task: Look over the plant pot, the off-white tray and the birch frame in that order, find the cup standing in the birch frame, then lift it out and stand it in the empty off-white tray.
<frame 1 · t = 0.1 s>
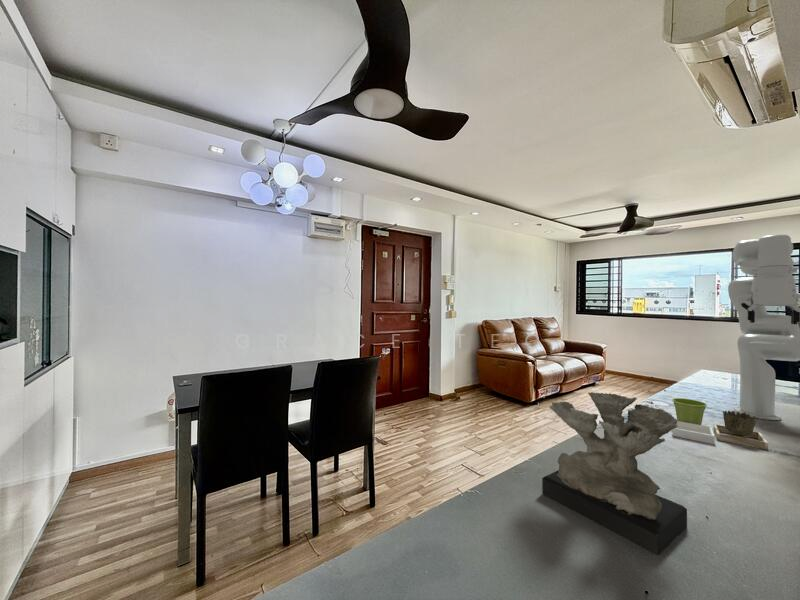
hand: (772, 323, 114), 37 cm above the table, tool pointing down, fingers open, 9 cm apart
plant pot: (688, 427, 118), on the table
cup: (738, 439, 108), resting in birch frame
coral: (608, 501, 72), on the table
birch frame: (738, 439, 108), on the table
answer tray: (692, 435, 110), on the table
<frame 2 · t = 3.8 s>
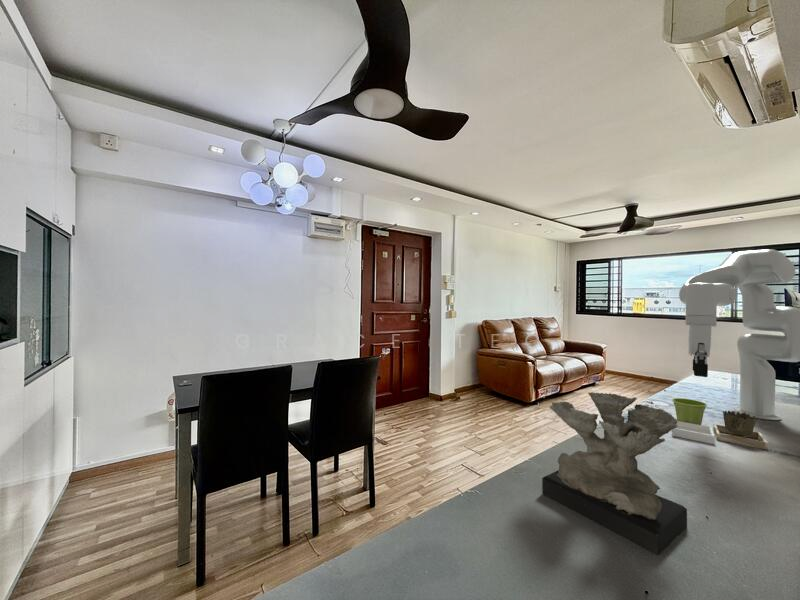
hand: (699, 373, 110), 20 cm above the table, tool pointing down, fingers open, 9 cm apart
nothing on the table moved.
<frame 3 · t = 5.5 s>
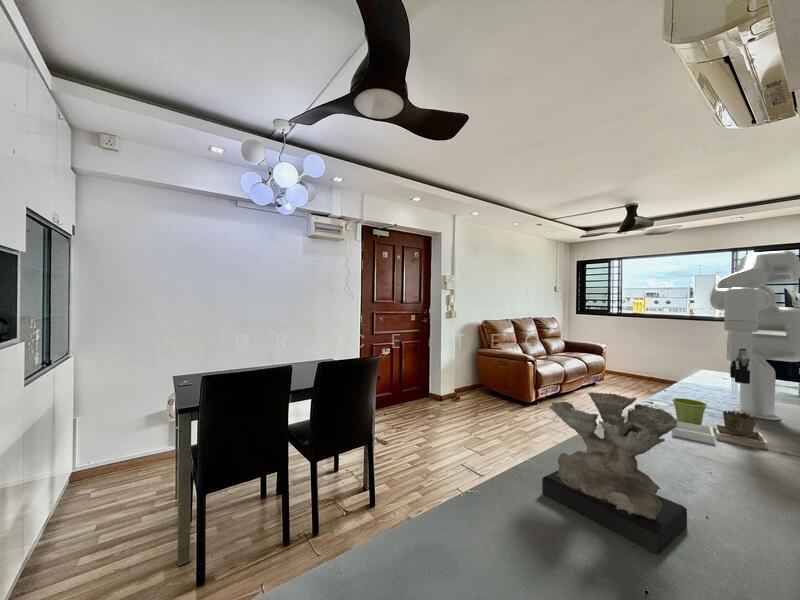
hand: (739, 380, 108), 19 cm above the table, tool pointing down, fingers open, 9 cm apart
nothing on the table moved.
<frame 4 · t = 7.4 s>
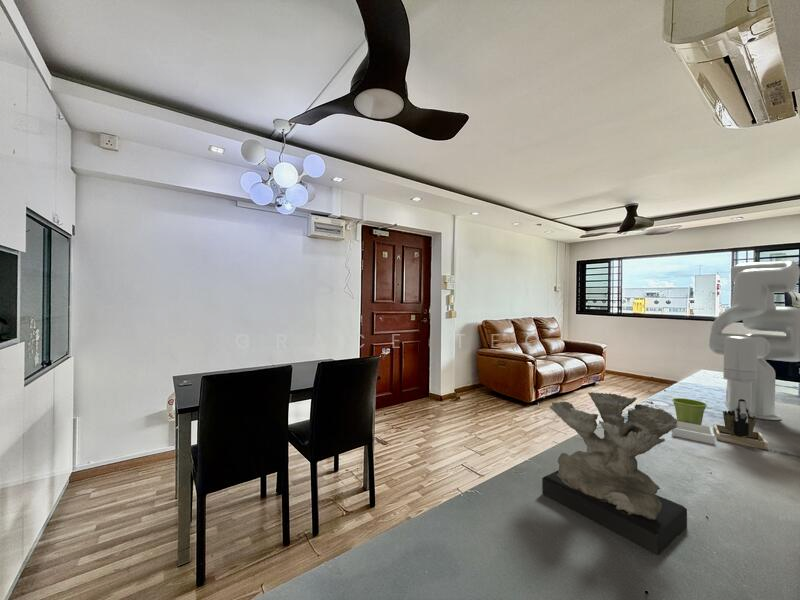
hand: (738, 430, 108), 3 cm above the table, tool pointing down, fingers closed on cup, 7 cm apart
cup: (738, 439, 108), resting in birch frame, touching gripper
everything else where it was.
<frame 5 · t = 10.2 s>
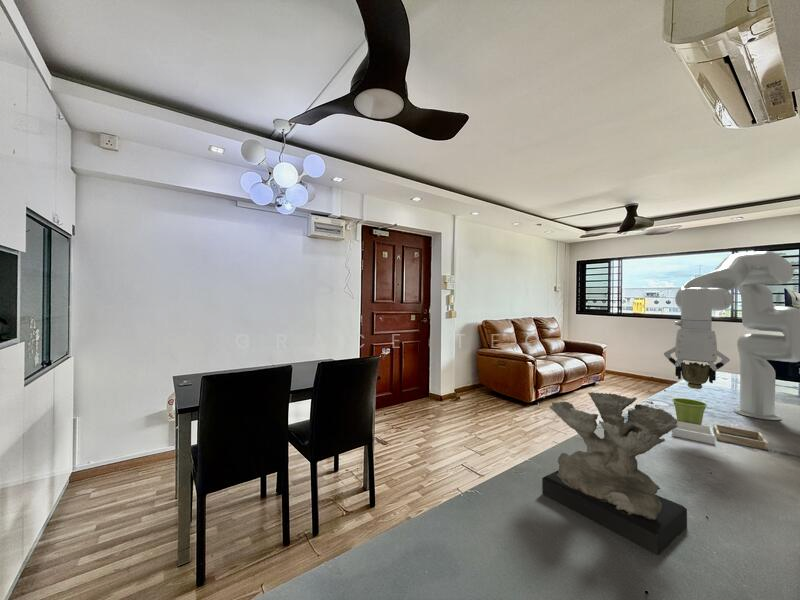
hand: (694, 380, 110), 18 cm above the table, tool pointing down, fingers closed on cup, 7 cm apart
cup: (694, 388, 110), point 15 cm above the table, touching gripper
everything else where it was.
when the fingers open (4 cm above the table, at t = 13.3 s): cup drops 1 cm, resting on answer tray.
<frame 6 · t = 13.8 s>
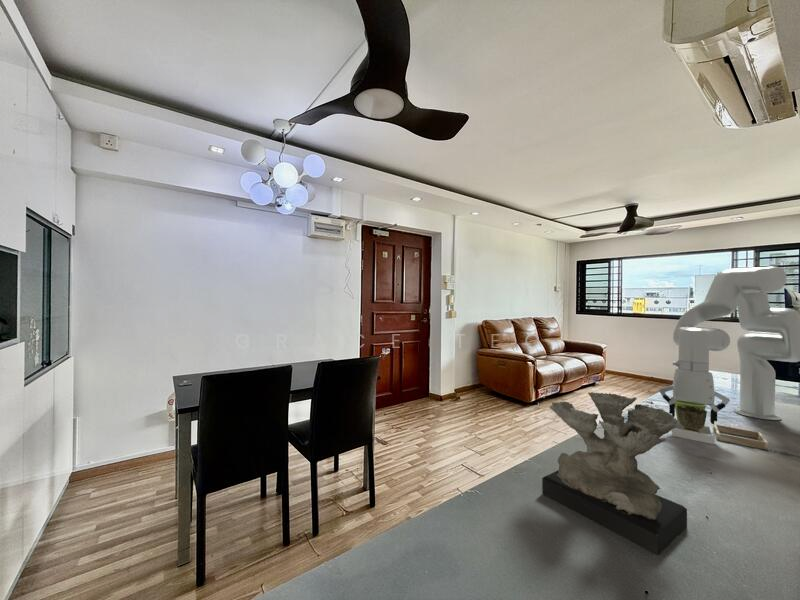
hand: (692, 419, 110), 5 cm above the table, tool pointing down, fingers open, 9 cm apart
cup: (691, 433, 111), resting on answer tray
everything else where it was.
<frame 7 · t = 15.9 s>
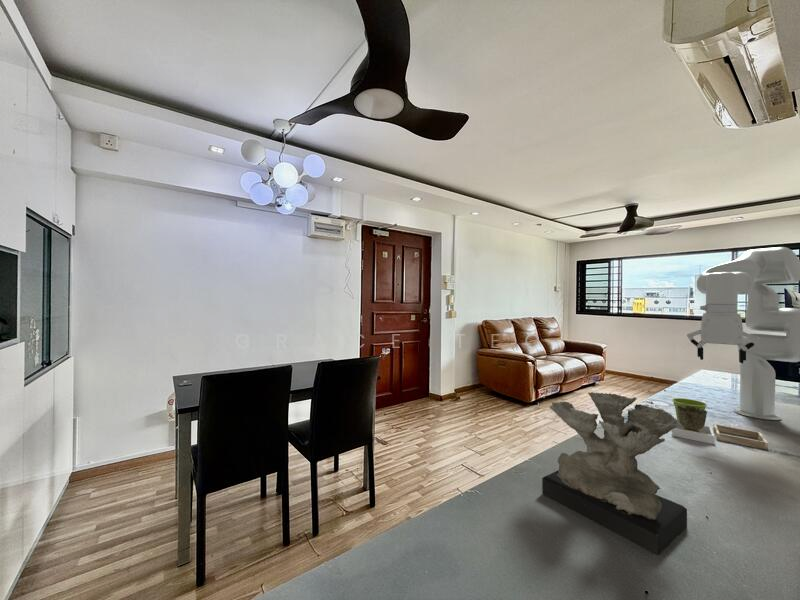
hand: (720, 360, 113), 24 cm above the table, tool pointing down, fingers open, 9 cm apart
nothing on the table moved.
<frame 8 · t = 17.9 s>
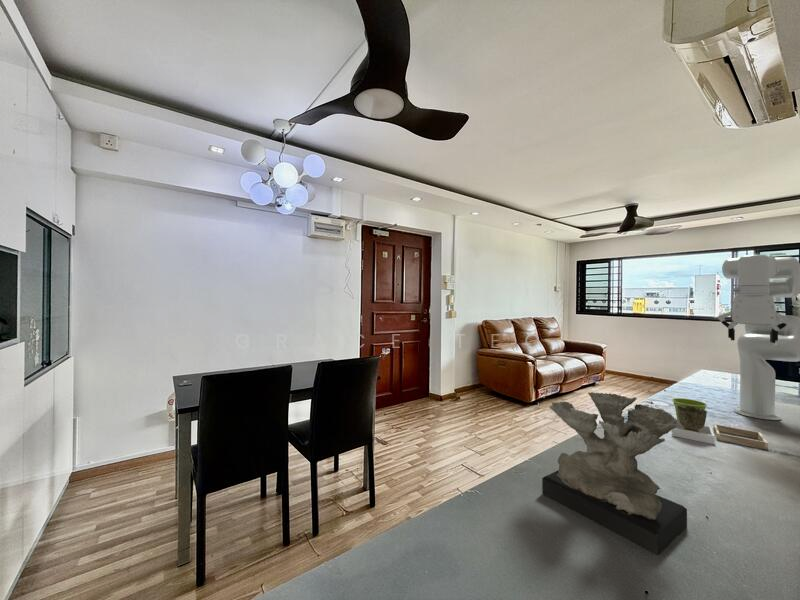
hand: (752, 341, 116), 30 cm above the table, tool pointing down, fingers open, 9 cm apart
nothing on the table moved.
at the end: cup 0.3 cm off-centre on the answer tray, point 0.4 cm above the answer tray's base; cup tilted 0°; the gripper is holding nothing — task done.
